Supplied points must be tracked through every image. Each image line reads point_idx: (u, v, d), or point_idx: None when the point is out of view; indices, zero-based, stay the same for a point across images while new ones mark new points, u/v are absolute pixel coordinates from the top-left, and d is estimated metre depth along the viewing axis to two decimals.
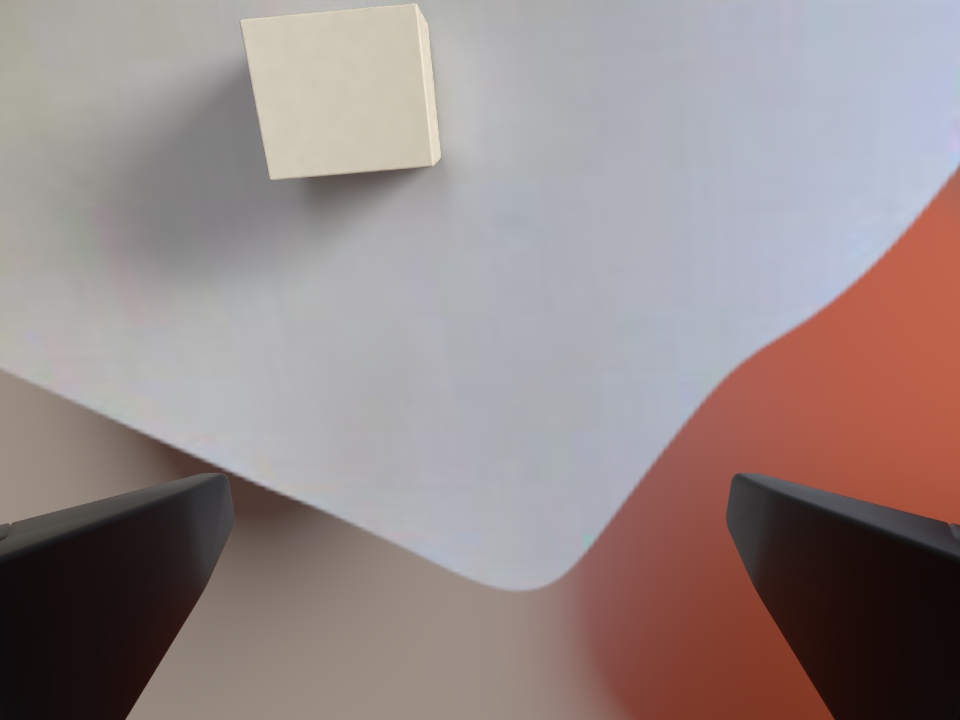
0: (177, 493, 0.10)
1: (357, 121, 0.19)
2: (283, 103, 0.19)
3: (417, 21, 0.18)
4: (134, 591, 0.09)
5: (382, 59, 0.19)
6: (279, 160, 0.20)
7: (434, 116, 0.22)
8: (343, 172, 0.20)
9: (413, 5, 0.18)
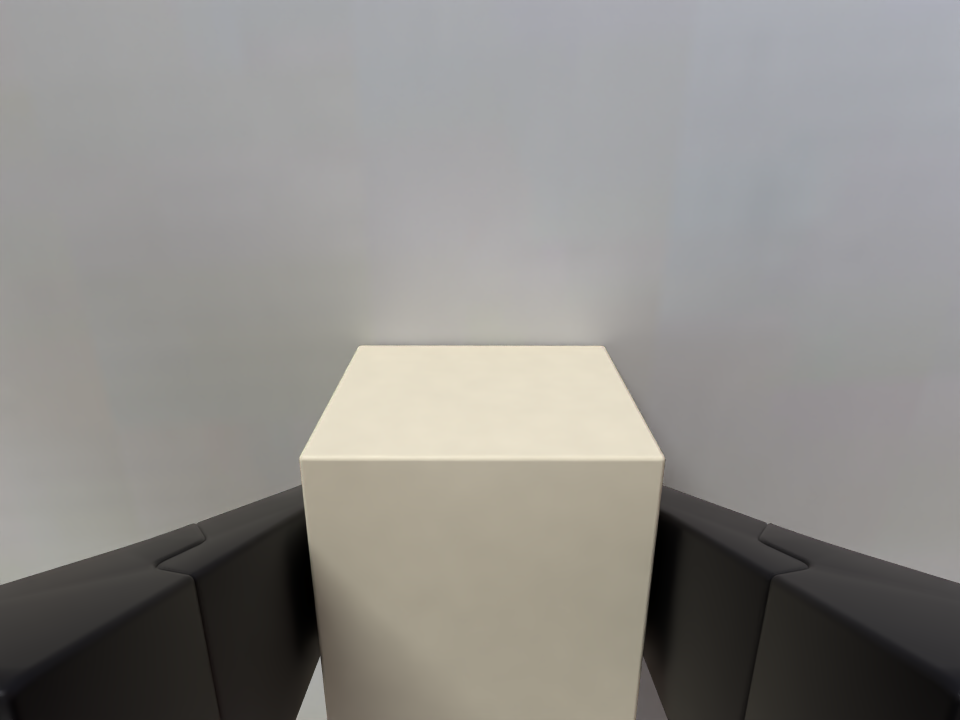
0: None
1: (538, 599, 0.08)
2: (486, 718, 0.09)
3: (336, 459, 0.08)
4: (303, 591, 0.09)
5: (413, 538, 0.08)
6: None
7: (530, 374, 0.10)
8: (642, 639, 0.09)
9: (303, 462, 0.08)
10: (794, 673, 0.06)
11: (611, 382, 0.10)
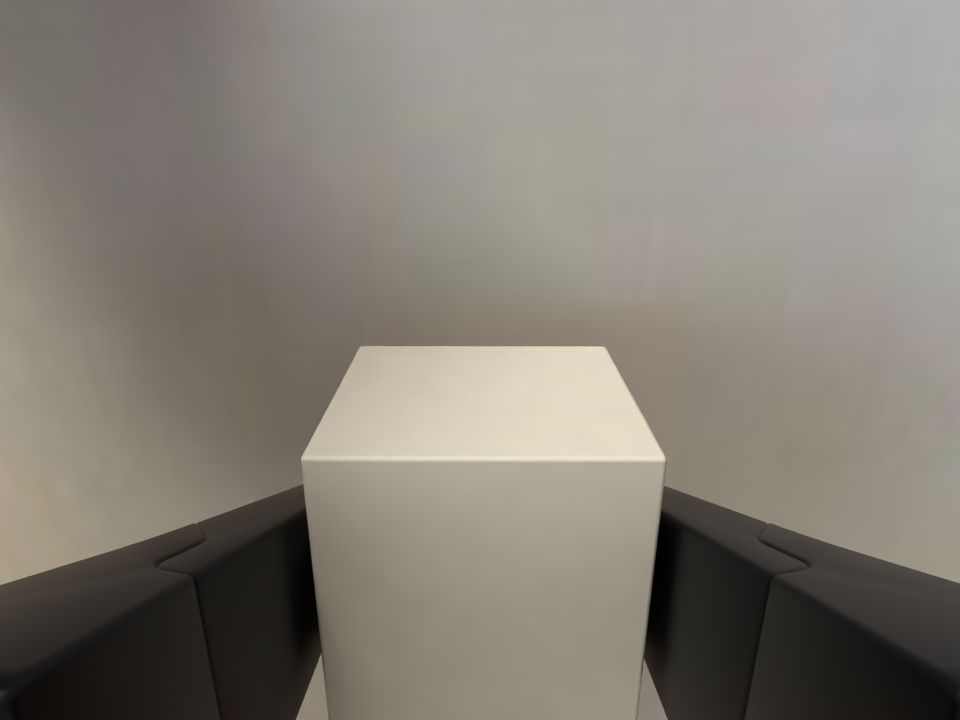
0: None
1: (540, 600, 0.08)
2: (487, 719, 0.09)
3: (338, 460, 0.08)
4: (303, 591, 0.09)
5: (416, 539, 0.08)
6: None
7: (531, 374, 0.10)
8: (643, 639, 0.09)
9: (305, 463, 0.08)
10: (794, 674, 0.06)
11: (612, 383, 0.10)
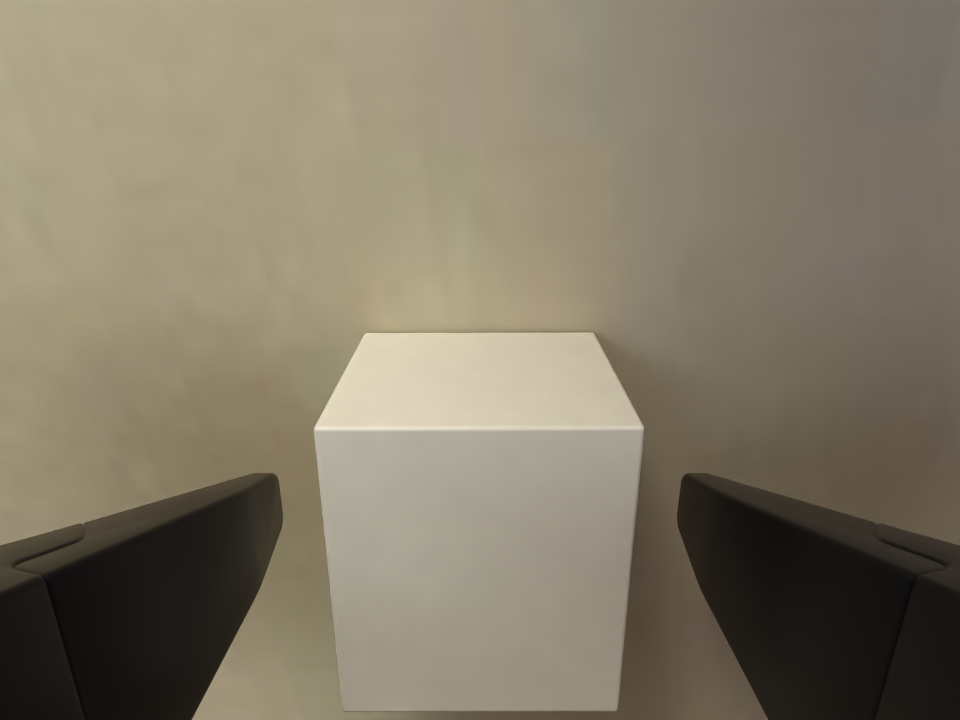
0: (236, 493, 0.10)
1: (531, 559, 0.09)
2: (483, 672, 0.10)
3: (347, 429, 0.09)
4: (200, 591, 0.09)
5: (417, 502, 0.09)
6: (584, 692, 0.10)
7: (524, 357, 0.11)
8: (626, 596, 0.10)
9: (317, 433, 0.09)
10: (945, 673, 0.06)
11: (599, 364, 0.11)
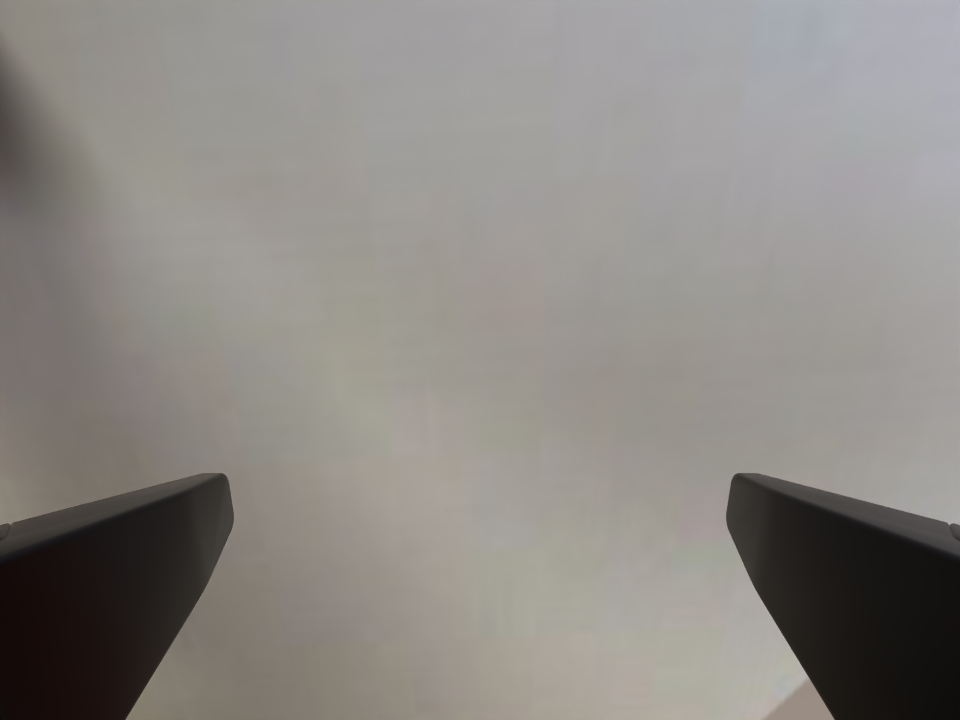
0: (177, 493, 0.10)
1: None
2: None
3: None
4: (134, 591, 0.09)
5: None
6: None
7: None
8: None
9: None
10: None
11: None
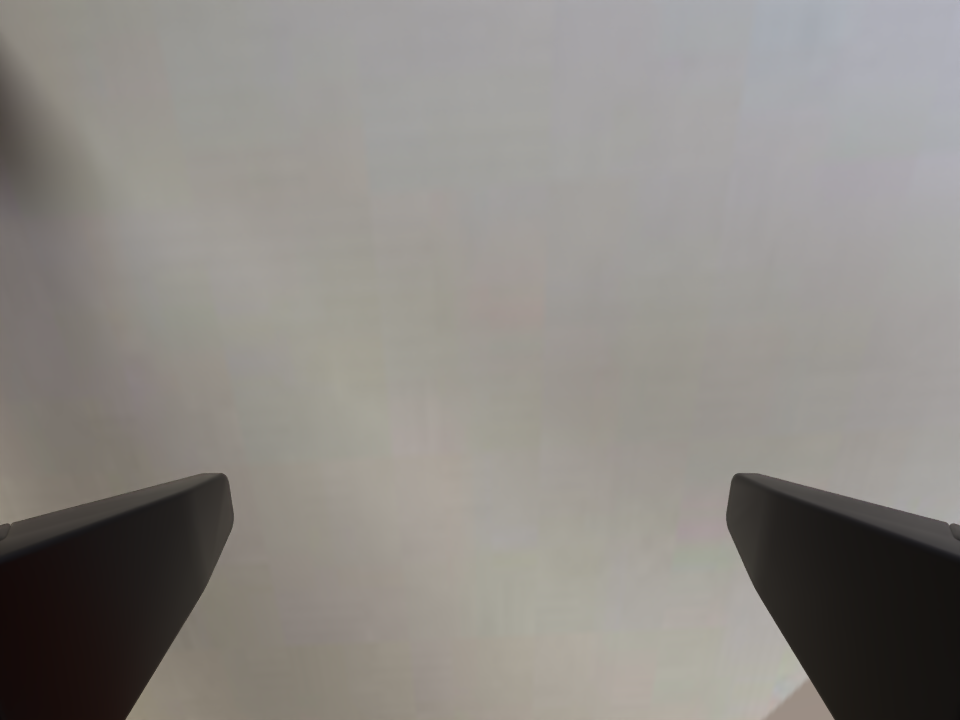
0: (177, 493, 0.10)
1: None
2: None
3: None
4: (134, 591, 0.09)
5: None
6: None
7: None
8: None
9: None
10: None
11: None
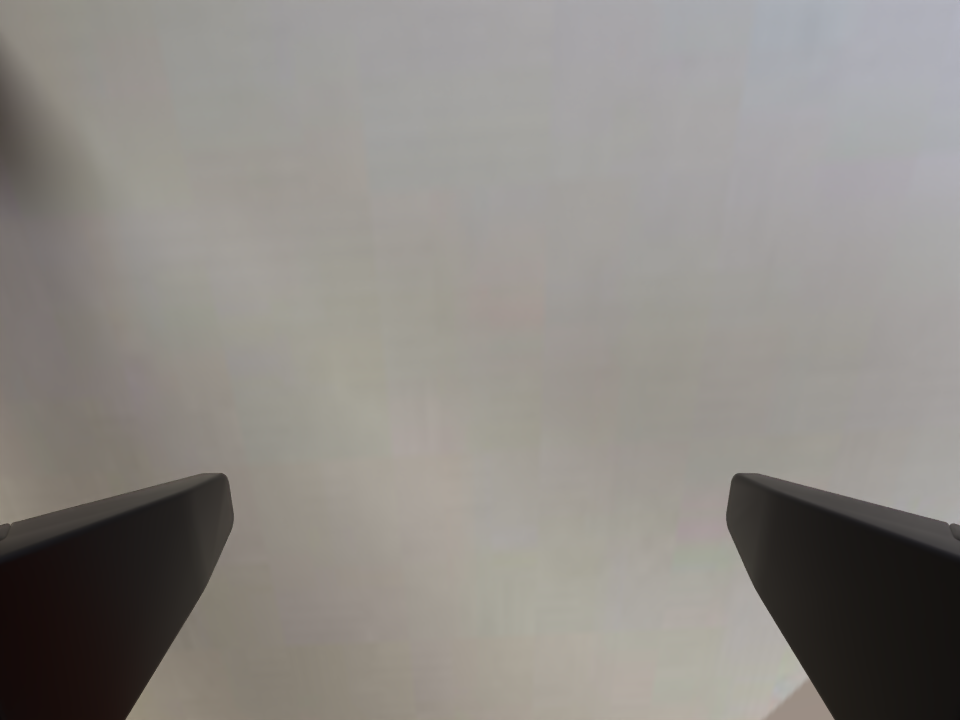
0: (177, 493, 0.10)
1: None
2: None
3: None
4: (134, 591, 0.09)
5: None
6: None
7: None
8: None
9: None
10: None
11: None
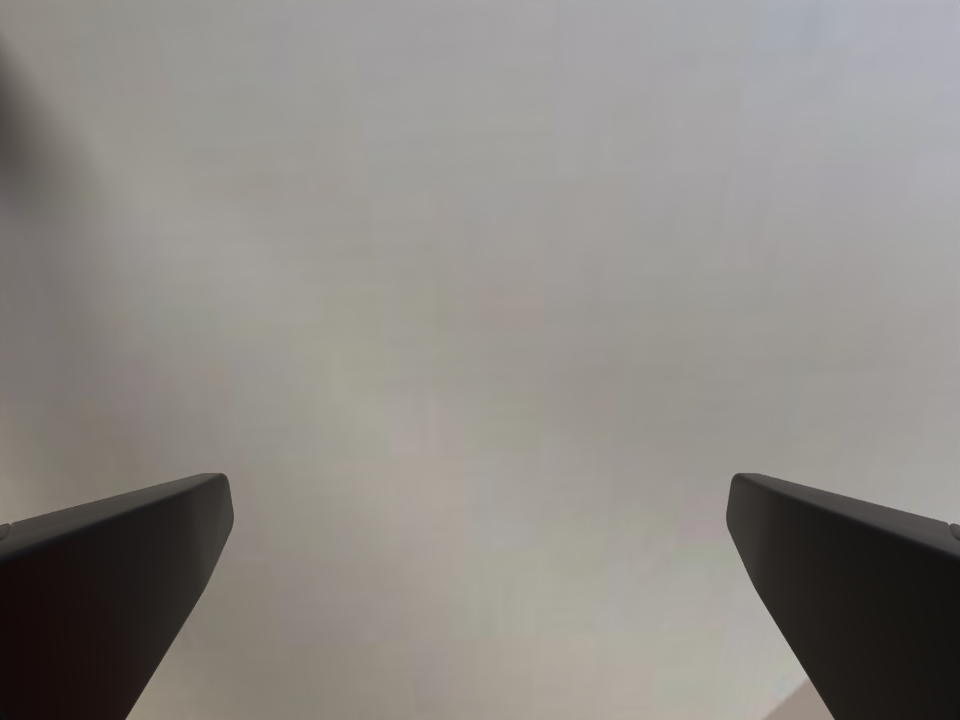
0: (177, 493, 0.10)
1: None
2: None
3: None
4: (134, 591, 0.09)
5: None
6: None
7: None
8: None
9: None
10: None
11: None
